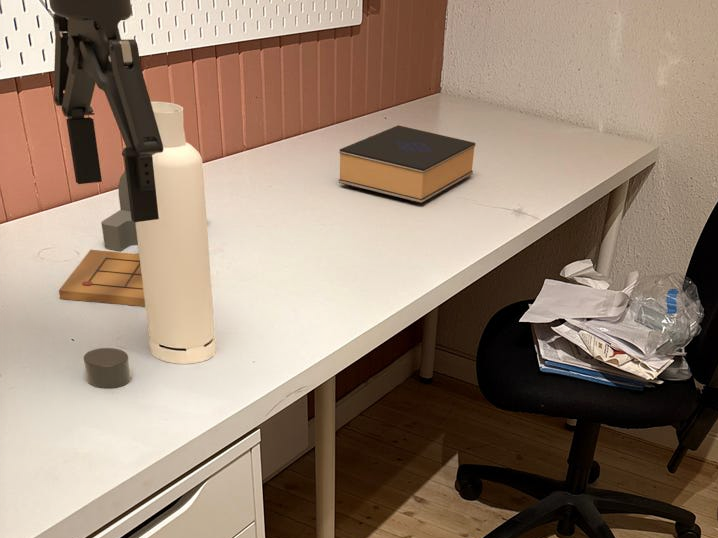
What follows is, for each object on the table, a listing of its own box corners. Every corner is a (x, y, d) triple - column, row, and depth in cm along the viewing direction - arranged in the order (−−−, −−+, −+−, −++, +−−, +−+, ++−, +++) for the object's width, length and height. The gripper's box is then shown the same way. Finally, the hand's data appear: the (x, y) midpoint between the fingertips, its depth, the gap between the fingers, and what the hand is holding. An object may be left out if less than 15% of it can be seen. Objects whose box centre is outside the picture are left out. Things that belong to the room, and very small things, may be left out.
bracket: (208, 223, 158) (203, 153, 151) (162, 258, 145) (154, 183, 138) (153, 213, 159) (145, 143, 152) (101, 247, 145) (90, 172, 138)
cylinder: (81, 386, 113) (78, 364, 111) (93, 367, 116) (89, 346, 114) (125, 390, 113) (122, 367, 111) (135, 371, 117) (132, 349, 115)
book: (338, 187, 181) (339, 149, 177) (396, 160, 199) (397, 125, 195) (421, 207, 177) (423, 169, 173) (472, 178, 195) (475, 142, 191)
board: (60, 298, 130) (58, 289, 129) (91, 257, 142) (90, 248, 141) (180, 309, 132) (179, 300, 131) (201, 268, 144) (200, 259, 143)
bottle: (140, 342, 123) (109, 99, 105) (199, 332, 127) (179, 96, 109) (167, 368, 118) (140, 118, 100) (227, 356, 122) (211, 115, 104)
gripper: (185, -8, 87) (204, 232, 101) (68, -53, 100) (98, 164, 114) (106, -9, 83) (136, 241, 97) (-6, -56, 96) (35, 170, 110)
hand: (116, 200), depth 105 cm, fingers open, 13 cm apart
